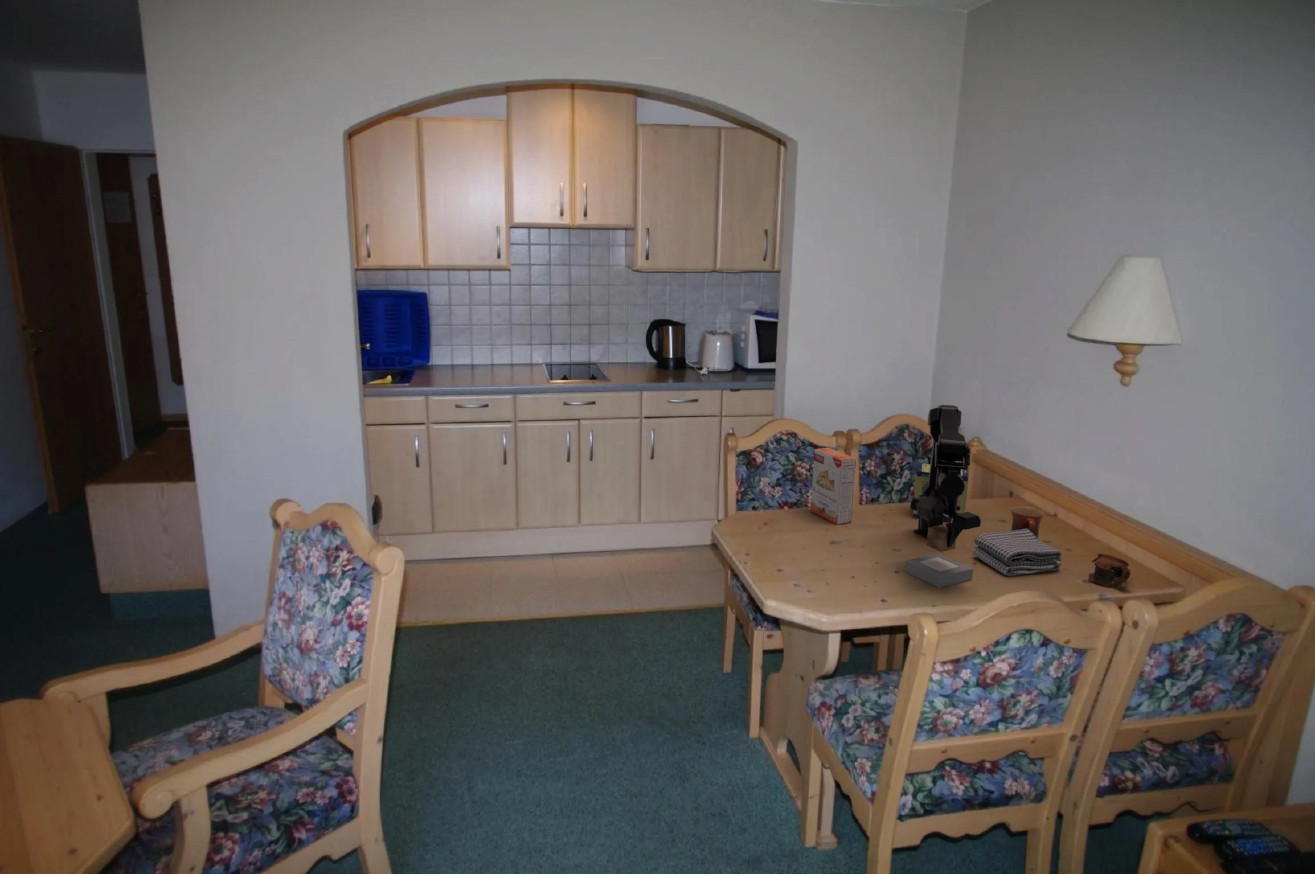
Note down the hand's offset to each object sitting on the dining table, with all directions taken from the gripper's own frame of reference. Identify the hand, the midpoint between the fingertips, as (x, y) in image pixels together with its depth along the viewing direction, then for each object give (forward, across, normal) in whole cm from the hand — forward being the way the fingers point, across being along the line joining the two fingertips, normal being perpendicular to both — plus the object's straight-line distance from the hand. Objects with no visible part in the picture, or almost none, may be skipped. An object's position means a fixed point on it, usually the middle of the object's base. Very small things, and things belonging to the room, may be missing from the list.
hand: (941, 543), depth 221 cm
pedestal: (+9, 0, 0) cm, 9 cm away
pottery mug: (+9, +24, +37) cm, 45 cm away
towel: (+9, +4, +26) cm, 27 cm away
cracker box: (+9, -49, +5) cm, 50 cm away
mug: (+9, -4, +39) cm, 40 cm away
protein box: (+9, -35, +37) cm, 52 cm away
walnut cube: (+1, 0, 0) cm, 1 cm away
